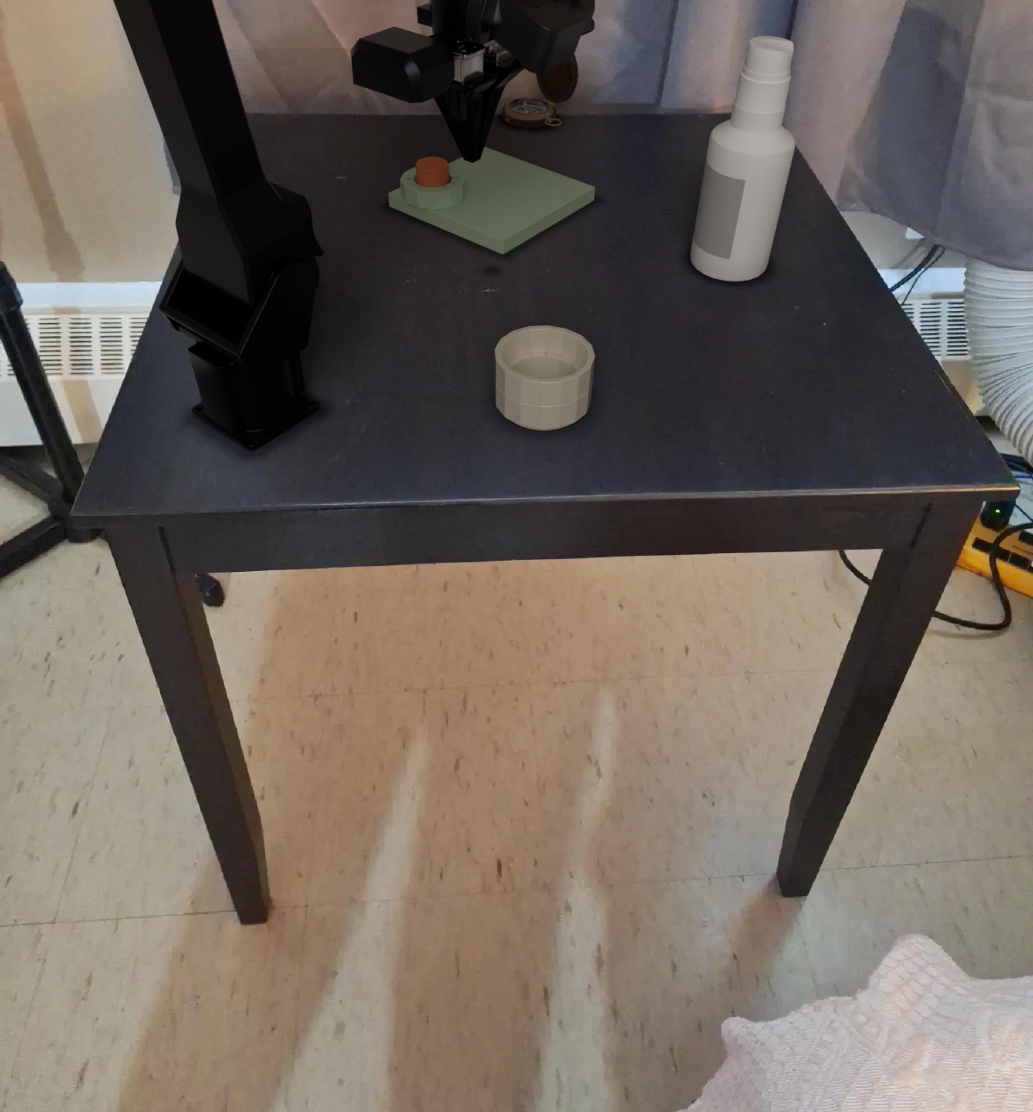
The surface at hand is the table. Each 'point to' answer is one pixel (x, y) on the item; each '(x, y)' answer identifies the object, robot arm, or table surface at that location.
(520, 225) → the scale
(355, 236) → the table surface
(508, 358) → the bowl
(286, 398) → the robot arm
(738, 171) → the white bottle
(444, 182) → the button
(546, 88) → the compass
